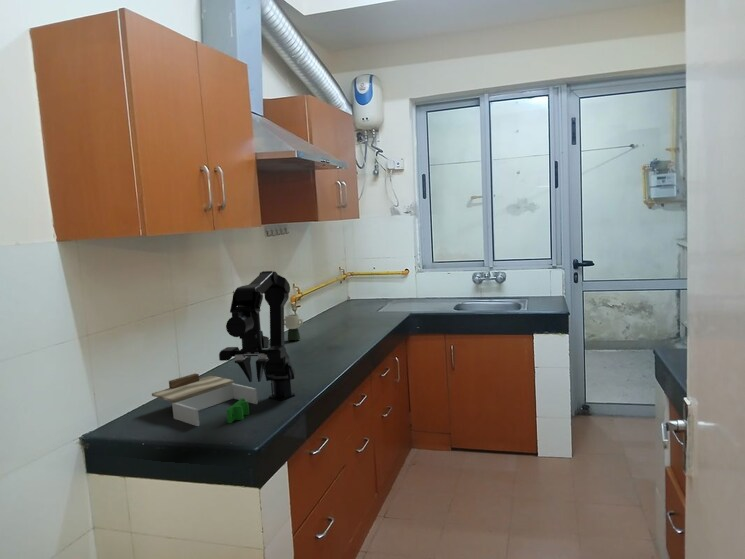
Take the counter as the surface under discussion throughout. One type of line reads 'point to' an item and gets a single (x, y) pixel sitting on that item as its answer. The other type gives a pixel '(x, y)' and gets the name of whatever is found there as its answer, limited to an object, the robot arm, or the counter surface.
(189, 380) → the lid
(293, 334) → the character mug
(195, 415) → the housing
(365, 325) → the counter surface
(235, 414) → the pipe clamp
